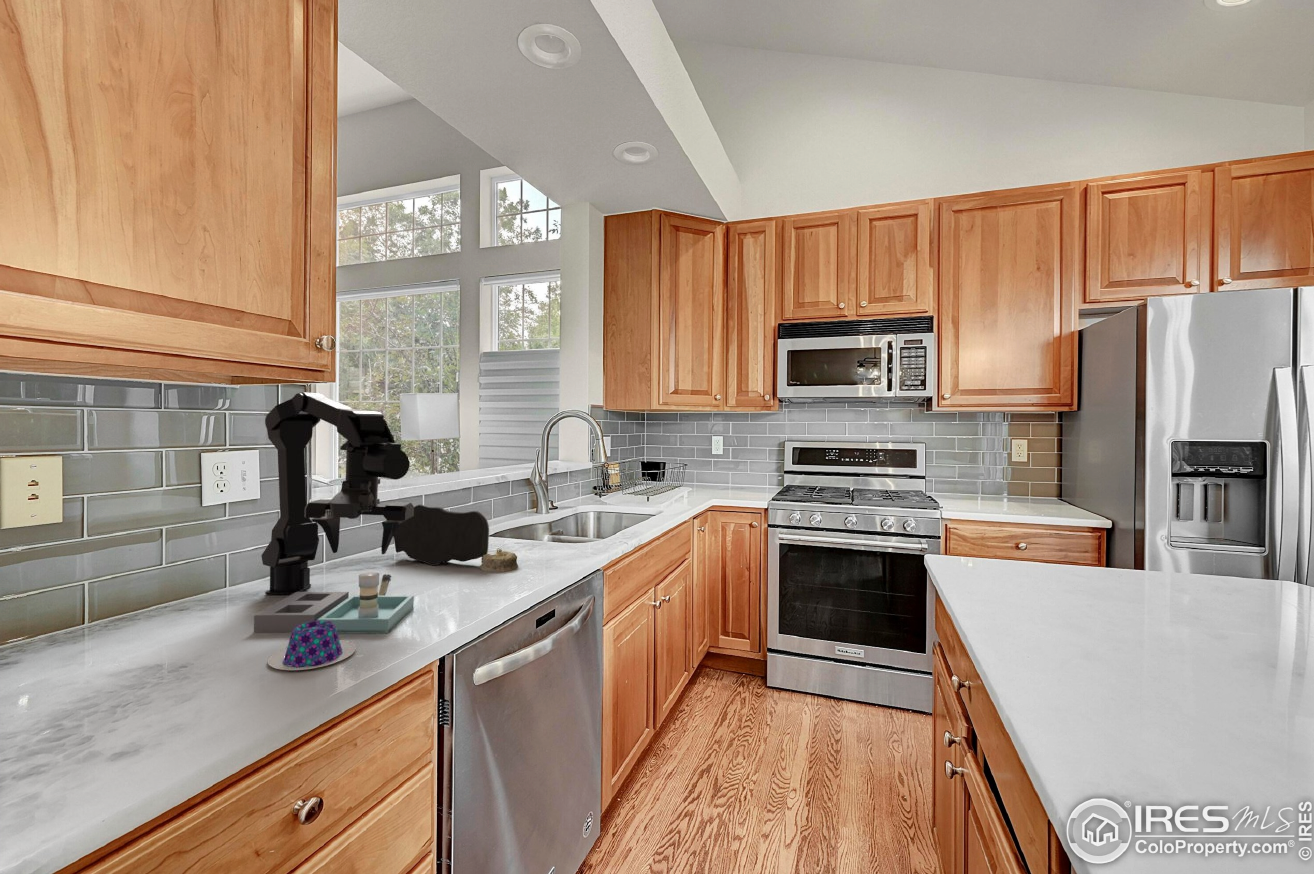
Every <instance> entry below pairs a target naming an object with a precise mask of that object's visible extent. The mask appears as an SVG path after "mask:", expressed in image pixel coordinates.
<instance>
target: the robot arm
mask: <svg viewBox="0 0 1314 874" xmlns="http://www.w3.org/2000/svg"><path fill="white" fill-rule="evenodd" d="M321 420H322V421H324V422H325V423H326V422H327V423H328V424H330V425H333V426H334V427H336V433H338V434H339V435H340V436H342V437H343V438H344V439H346V442H344V443H343V444H342V445H341V446H340V448H339V449H340V450H341V451H345V453H346V454H345V456H346V457H345V460H346V461H345V480H342V484H341V489H340V491H339V492H337V493H336V494H335V495H334V496H333V497H332V498H331V499H322V498H321V499H316V500H313V501H309V502H308V503H307V486H306V485H307V482H306V480H307V478H306V459H305V448H306V447H308V444H309V443H310V441H311V440H312V438H313V434H314V433H313V432H314V431H313V430H314V427H316V426H317V425H319V423H320V422H321ZM264 425H265V428H266V431H267V436H268V437H267V438H268V440H269V441H270V442H271V444H272V445H273V446H274V447H275V449H276V450H277V466H278V467H277V469H278V470H277V471H278V495H279V496H278V497H279V518H278V520H277V521H276V523H275V525H274V526H273V528H272V529H271V537H270V538H271V539H270V542H269V543H268V544H267V546H266V547H265V549H264V551H263V552H262V554H261V561H262V565H263V566H267V567H269V589H268V590H266V591H265V592H264V593H265V595H291V594H293V593H295V592H304V591H305V590H307V589H309V588H310V587H312V583H311V581H310V580H311V579H310V578H311V577H310V576H311V575H310V574H311V568H310V567H309V566H308V565H309V561H315V559H316V555H317V551H318V548H319V544H320V538H319V537H320V536H319V526H320V527H321V528H322V530H323V532H324V534H325V536H326V538H327V541H328V544H329V546H330V549H331V551H332V552H331V553H333V554H336V553H338V551H339V545H340V527H341V518H343V519H344V518H345V519H347V518H348V519H349V520H353V519H357V518H359V517H360V516H361V515H363V516H383V518H385V520H383V521H381V525H382V529H383V531H382V539H381V545H380V547H381V549H380V550H381V555H385V554H386V553H387V551H388V548H389V546H390V544H391V542H392V539H394V537H393V536H394V533H395V532H396V530H397V528H398V526H399V525H400V523H402V522H404V521H406V520H407V519H409V518H411V517H413V516H414V507H415V506H414V505H413V503H412V502H405V501H404V502H403V501H398V502H397V501H393V502H390V503H388V504H385V505H379V504H380V502H381V500H380V498H378V495H379V494H378V492H379V488H378V487H379V485H380V484H381V478H382V479H386V480H387V479H389V480H401V479H402V478H404V476H406V474H407V473H408V472H409V471H410V470H409V469H410V467H411V466H410V464H411V462H410V459H409V457H408V455H407V453H406V452H405V451H404V450H402V444H401V443H396V441H395V437H394V436H393V433H392V432H391V430H390V428H389V425H388V423H387V421H386V419H385V416H384V415H383V413H382V412H379V411H375V410H374V411H373V410H368V409H367V410H365V409H358V408H356V409H354V408H352V407H350V406H347V405H345V404H343V403H341V402H338V401H336V400H334V399H331V398H329V397H326V396H325V395H324V394H321V393H320V392H318V393H316V392H305V391H304V392H299V393H296V394H294V396H293V397H291V398H290V399H288V400H286V401H283V402H280V403H279V404H277V405H275V406H274V407H273V408H272V409H271V410H270V411H269V412H268V413H267V414H266V416H265V419H264Z"/></svg>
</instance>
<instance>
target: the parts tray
mask: <svg viewBox="0 0 1314 874" xmlns="http://www.w3.org/2000/svg"><path fill="white" fill-rule="evenodd" d="M359 597H360V595H351V596H349V598H348V599H346V600H345V601H343V602H342V603H340V604H339V605H338V606H336V607H335V608H333V609H332V610H330V611H329V612H327V613H326V614H325V615H323V616H322V617H320V618H319V619H317V621H329V622H331V623H333V624H334V625H335V627H336V629H337V633H338V635H340V634H343V635H344V634H389V633H390V632H391V631H392V630H393V629H394V628H395V627H396V626H397V624H399V622H401V621H402V620H403V619H404V618H405V617H406V616H407V614H409V613H410V612H411V611H412V610H413V609H414V605H415V604H414V601H415V600H414V599H415V598H414V597H415V595H385V596H378V599H377V604H378V605H379V608H378V617H376V618H358V607H359V606H360V599H359Z"/></svg>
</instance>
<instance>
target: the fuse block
mask: <svg viewBox="0 0 1314 874" xmlns="http://www.w3.org/2000/svg"><path fill="white" fill-rule="evenodd" d="M349 593H350V591H301V592H295V593H293V594H289V595H287V596H286V597H284V598H283V599H281V600H278V601H277V602H276V603H274V604H272V605H269V606H267V607H266V608H264V609H263V610H261V611H259V612H257V613H255V614H254V615H253V633H292V631H293V629H294V628H295V627H296V626H299V625H302V624H303V623H307V622H314V621H317V619H319V618H320V617H322V616H323V615H325V614H326V613H327V612H329V611H330V610H332V609H333V608H335V607H336V606H338V605H339V604H340V603H342V602H343V601H345V600H346V599H348V598H349V597H350V596H349Z"/></svg>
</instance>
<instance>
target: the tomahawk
mask: <svg viewBox="0 0 1314 874" xmlns="http://www.w3.org/2000/svg"><path fill="white" fill-rule="evenodd" d="M391 578H392V575H391V574H389V573H388V574H385V573H384V574H383V575H382V578H381V583H380V587H379V590H378V596H386V592H387V589H388V586H389V582H390V579H391Z"/></svg>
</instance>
